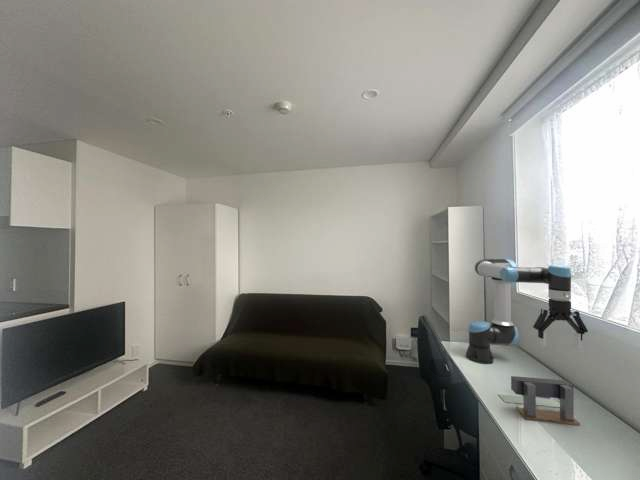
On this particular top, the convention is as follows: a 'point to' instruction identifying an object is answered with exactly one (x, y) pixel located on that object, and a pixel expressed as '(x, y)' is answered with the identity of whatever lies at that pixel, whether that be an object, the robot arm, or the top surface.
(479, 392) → the top surface
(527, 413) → the hook rack
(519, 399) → the mat
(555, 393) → the rail
